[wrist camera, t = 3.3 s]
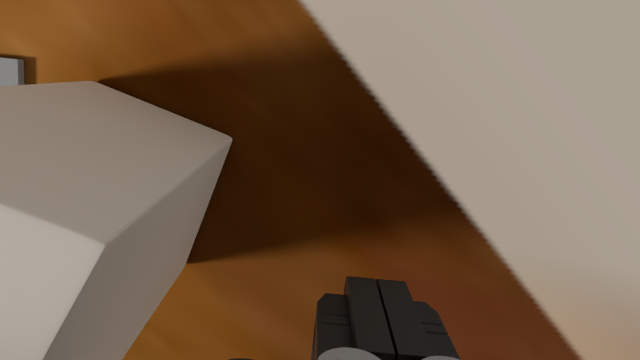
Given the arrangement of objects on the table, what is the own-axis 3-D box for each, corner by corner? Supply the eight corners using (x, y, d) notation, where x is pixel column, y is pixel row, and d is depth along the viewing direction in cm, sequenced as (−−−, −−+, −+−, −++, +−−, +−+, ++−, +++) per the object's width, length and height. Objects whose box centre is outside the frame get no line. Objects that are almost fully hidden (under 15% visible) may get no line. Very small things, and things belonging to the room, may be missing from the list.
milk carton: (92, 79, 24) (-730, 122, 5) (234, 136, 24) (-39, 364, 6) (50, 214, 25) (-713, 632, 7) (185, 266, 26) (-161, 782, 7)
